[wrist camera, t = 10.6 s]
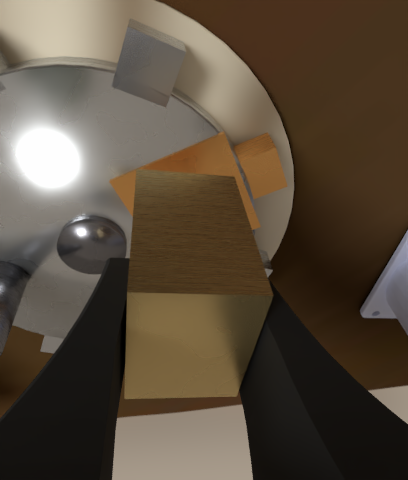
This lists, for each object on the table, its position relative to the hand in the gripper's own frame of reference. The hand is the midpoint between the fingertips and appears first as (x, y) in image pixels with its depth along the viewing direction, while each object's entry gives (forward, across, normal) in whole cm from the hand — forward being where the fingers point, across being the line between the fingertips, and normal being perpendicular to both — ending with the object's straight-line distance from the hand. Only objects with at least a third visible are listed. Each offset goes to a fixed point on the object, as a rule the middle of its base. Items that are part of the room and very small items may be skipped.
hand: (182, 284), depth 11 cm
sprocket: (+8, +3, +3) cm, 9 cm away
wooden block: (+2, 0, 0) cm, 2 cm away
